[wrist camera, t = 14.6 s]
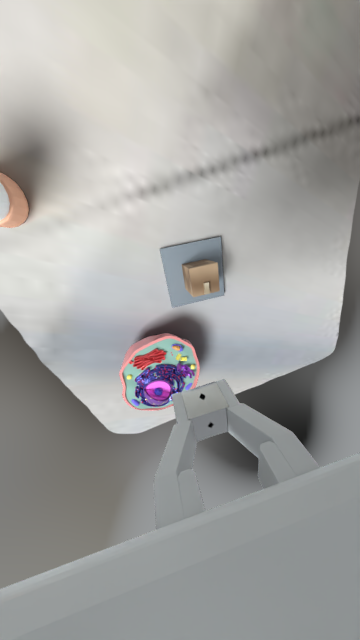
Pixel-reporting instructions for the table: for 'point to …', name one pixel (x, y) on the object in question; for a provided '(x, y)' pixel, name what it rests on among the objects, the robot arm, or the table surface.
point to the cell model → (158, 371)
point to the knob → (201, 277)
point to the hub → (187, 254)
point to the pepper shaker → (12, 203)
